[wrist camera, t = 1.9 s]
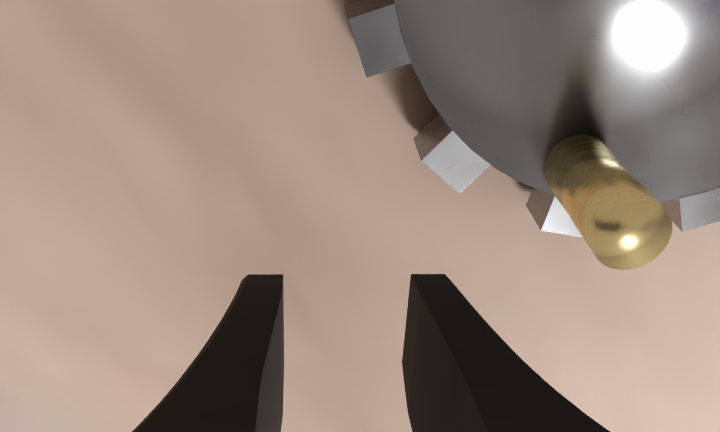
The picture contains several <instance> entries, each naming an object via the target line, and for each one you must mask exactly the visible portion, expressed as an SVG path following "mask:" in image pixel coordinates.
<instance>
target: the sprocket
mask: <svg viewBox="0 0 720 432" xmlns="http://www.w3.org/2000/svg"><path fill="white" fill-rule="evenodd" d="M345 8H346V12H347V17H348V20H349V24H350V27H351V30H352V33H353V36H354V39H355V43H356V46H357V49H358V52H359V55H360V58H361V61H362V65H363V68H364V71H365V74H366V77H369V76H373V75H376V74H379V73H382V72H385V71H388V70H391V69H394V68H397V67H400V66H403V65H406V64H409V63H411V65H412V67H413V69H414V71H415V73H416V75H417V77H418V79H419V81H420V83H421V85H422V86H423V88H424V90H425V92H426V94H427V96H428V98H429V100H430V101H431V103H432V104H433V105H434V107H435V108H436V110H437V111H438V112H439V114H438V115H437V116H436V117H435V118H434V119H433V120H432V121H431V122H430V123H429V124H428V125H427V126H426V127H425V128H424V129H423V130H422V131H421V132H420V133H419V134H418V135H417V136H416V137H415V138H414V142H415V144H416V147H417V150H418V153H419V156H420V159H421V161H422V162H423V163H424V164H425V165H427V166H428V167H429V168H430V169H431V170H432V171H434V172H435V173H436V174H437V175H438V176H440V177H441V178H442V179H443V180H444V181H445V182H447V183H448V184H449V185H450V186H451V187H452V188H454V189H455V190H456V191H457V192H458V193H461V192H462V191H463V190H464V189H465V188H466V187H467V186H469V185H470V184H471V183H472V182H473V181H474V180H475V179H476V178H477V177H478V176H479V175H480V174H481V173H483V172H484V171H485V170H486V169H487V168H488V167H489V166H490V165H492V166H493V167H494V168H496V169H498V170H499V171H501V172H503V173H505V174H506V175H508V176H510V177H512V178H514V179H515V180H517V181H519V182H521V183H523V184H525V185H528V186H530V187H533V189H532V192H531V194H530V197H529V199H528V202H527V205H526V206H527V208H528V209H529V211H530V213H531V214H532V216H533V218H534V219H535V221H536V223H537V225H538V226H539V228H540V230H541V231H547V232H553V233H559V234H565V235H571V236H577V237H583V238H584V239H585V241H586V242H587V244H588V245H589V247H590V248H591V250H592V251H593V253H594V254H595V256H596V257H597V259H598V260H599V261H600V262H601V263H603V264H604V265H606V266H608V267H610V268H613V269H620V270H627V269H633V268H637V267H640V266H642V265H645V264H647V263H648V262H650V261H652V260H653V259H654V258H656V257H657V256H658V255H659V254H660V253H661V252H662V251H663V250H664V248H665V247H666V245H667V244H668V242H669V240H670V237H671V234H672V221H673V222H674V223H675V224H676V225H677V226H678V228H679V229H680V230H681V231H682V232H683V231H687V230H690V229H694V228H697V227H700V226H704V225H707V224H711V223H714V222H717V221H720V0H357V1H354V2H351V3H348V4H345ZM671 220H672V221H671Z"/></svg>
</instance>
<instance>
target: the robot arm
mask: <svg viewBox="0 0 720 432" xmlns="http://www.w3.org/2000/svg"><path fill="white" fill-rule="evenodd" d="M402 365H403V374H404V383H405V392H406V400H407V408H408V414H409V419H410V423H411V427H412V431H413V432H610V431H608V430H607V429H605V428H604V427H603V426H601V425H600V424H598V423H597V422H596V421H594V420H593V419H591V418H590V417H589V416H587V415H586V414H585V413H584V412H582V411H581V410H580V409H579V408H577V407H576V406H575V405H573V404H572V403H571V402H570V401H568V400H567V399H566V398H565V397H563V396H562V395H561V394H560V393H558V392H557V391H556V390H555V389H554V388H552V387H551V386H550V385H549V384H548V383H547V382H545V381H544V380H543V379H542V378H541V377H540V376H539V375H538V374H537V373H536V372H535V371H533V370H532V369H531V368H530V367H529V366H528V365H527V364H526V363H525V362H524V361H523V360H522V359H521V358H520V357H519V356H518V355H517V354H516V353H515V352H514V351H513V350H512V349H511V348H510V347H509V346H508V345H507V344H506V343H505V342H504V341H503V340H502V339H501V338H500V337H499V335H498V334H497V333H496V332H495V331H494V330H493V329H492V328H491V327H490V326H489V325H488V324H487V322H486V321H485V320H484V319H483V318H482V317H481V316H480V314H479V313H478V312H477V311H476V310H475V309H474V308H473V306H472V305H471V304H470V303H469V302H468V301H467V299H466V298H465V297H464V296H463V295H462V293H461V292H460V291H459V290H458V289H457V287H456V286H455V285H454V284H453V283H452V282H451V280H450V279H449V278H448V277H447V276H446V275H445V274H411V280H410V290H409V300H408V310H407V320H406V330H405V340H404V350H403V359H402ZM283 381H284V320H283V275H247V276H246V277H245V278H244V279H243V280H242V281H241V284H240V286H239V288H238V291H237V293H236V295H235V297H234V299H233V300H232V302H231V304H230V306H229V308H228V309H227V311H226V313H225V315H224V316H223V318H222V320H221V321H220V323H219V324H218V326H217V327H216V329H215V331H214V332H213V334H212V335H211V337H210V338H209V340H208V341H207V343H206V344H205V346H204V347H203V349H202V350H201V351H200V353H199V354H198V356H197V357H196V358H195V360H194V361H193V362H192V363H191V365H190V366H189V367H188V369H187V370H186V371H185V373H184V374H183V375H182V377H181V378H180V379H179V380H178V382H177V383H176V384H175V385H174V387H173V388H172V389H171V390H170V391H169V393H168V394H167V395H166V396H165V397H164V398H163V400H162V401H161V402H160V403H159V404H158V405H157V406H156V407H155V408H154V409H153V411H152V412H151V413H150V414H149V415H148V416H147V417H146V418H145V419H144V420H143V421H142V422H141V423H140V424H139V425H138V426H137V427H136V428H135V429H134V430H133V431H132V432H281V424H282V416H283Z"/></svg>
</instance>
